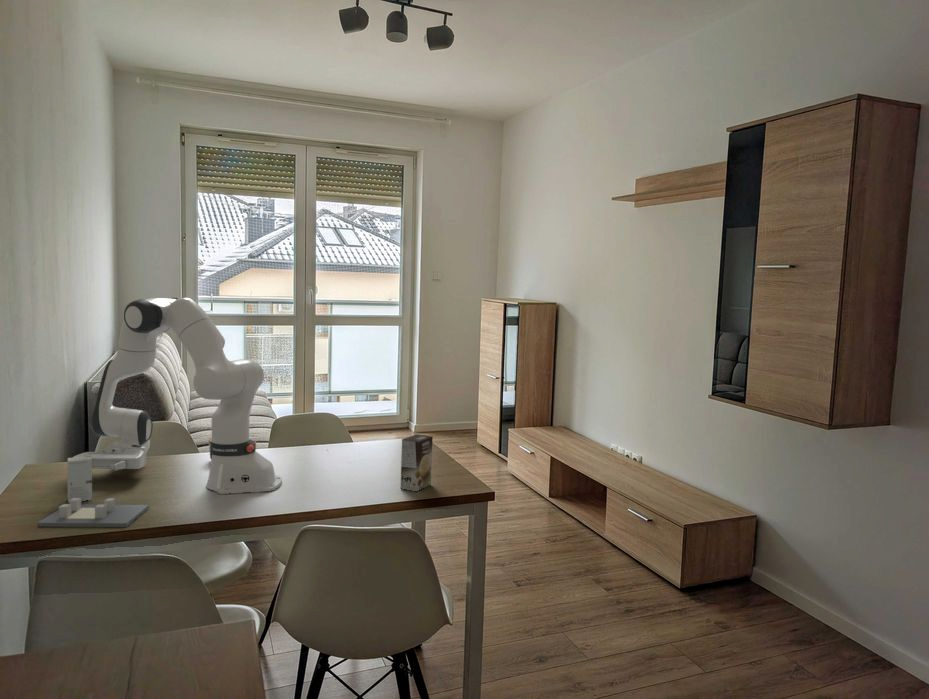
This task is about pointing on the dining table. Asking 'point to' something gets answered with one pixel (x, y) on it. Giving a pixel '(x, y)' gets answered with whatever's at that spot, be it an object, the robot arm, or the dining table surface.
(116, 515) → the board
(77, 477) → the skincare box
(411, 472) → the coffee box
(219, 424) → the robot arm
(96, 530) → the dining table surface
